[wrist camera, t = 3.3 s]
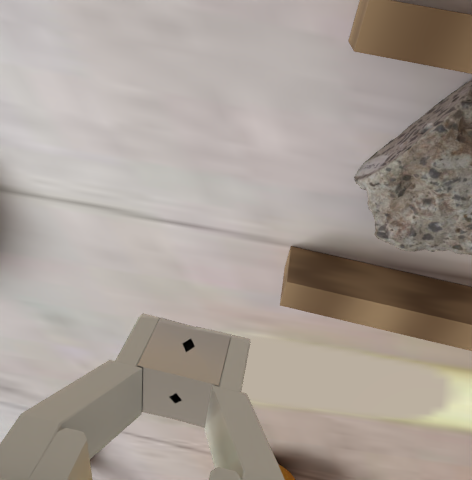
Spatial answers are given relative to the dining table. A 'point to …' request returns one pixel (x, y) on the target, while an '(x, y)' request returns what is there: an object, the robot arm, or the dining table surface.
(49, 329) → the dining table surface
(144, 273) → the dining table surface
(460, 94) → the rock
